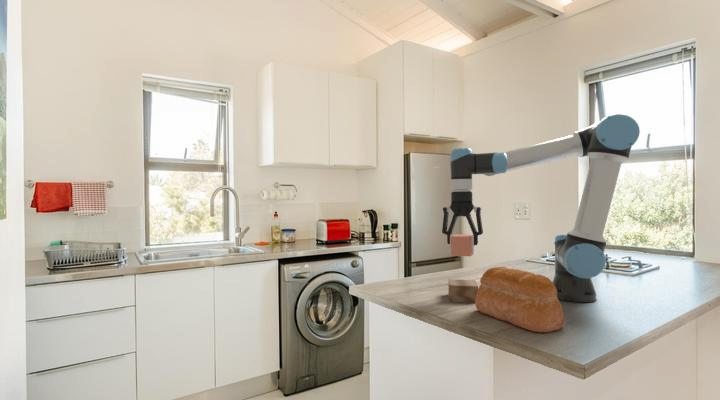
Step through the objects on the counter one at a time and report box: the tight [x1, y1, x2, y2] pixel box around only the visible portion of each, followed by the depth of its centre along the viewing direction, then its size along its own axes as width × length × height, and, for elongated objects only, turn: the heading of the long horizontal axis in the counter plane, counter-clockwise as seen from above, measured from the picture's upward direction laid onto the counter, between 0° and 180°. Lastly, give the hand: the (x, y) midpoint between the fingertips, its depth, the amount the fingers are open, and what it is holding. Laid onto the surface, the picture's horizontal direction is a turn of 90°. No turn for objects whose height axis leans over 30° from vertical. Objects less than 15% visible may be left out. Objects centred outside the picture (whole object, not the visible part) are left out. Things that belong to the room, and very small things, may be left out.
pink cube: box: [450, 233, 473, 257], centre depth 144 cm, size 7×7×7 cm
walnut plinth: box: [447, 279, 479, 304], centre depth 144 cm, size 10×10×6 cm
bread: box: [474, 266, 565, 334], centre depth 120 cm, size 14×26×15 cm, turn 26°
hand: (462, 253), depth 144 cm, fingers closed on pink cube, 7 cm apart
